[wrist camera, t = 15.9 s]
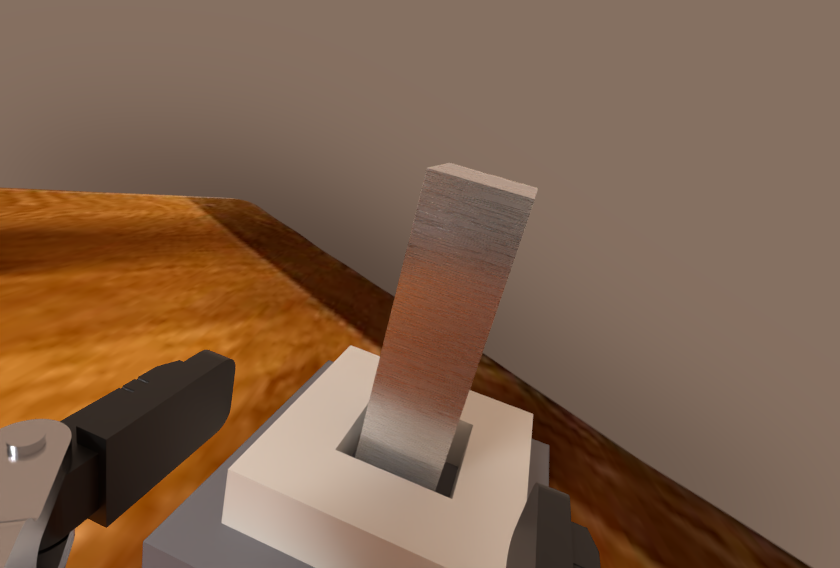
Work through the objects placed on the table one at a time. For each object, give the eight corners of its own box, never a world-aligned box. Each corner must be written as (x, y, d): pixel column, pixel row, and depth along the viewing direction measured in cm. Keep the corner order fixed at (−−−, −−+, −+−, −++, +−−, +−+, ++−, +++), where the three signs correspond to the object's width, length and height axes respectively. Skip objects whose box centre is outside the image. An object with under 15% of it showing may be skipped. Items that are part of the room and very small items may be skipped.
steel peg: (345, 494, 22) (427, 167, 17) (375, 444, 26) (449, 162, 20) (422, 527, 22) (534, 199, 16) (441, 471, 25) (538, 188, 20)
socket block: (142, 567, 18) (145, 484, 17) (325, 377, 33) (336, 323, 31) (529, 767, 16) (578, 689, 14) (541, 462, 30) (565, 408, 29)
